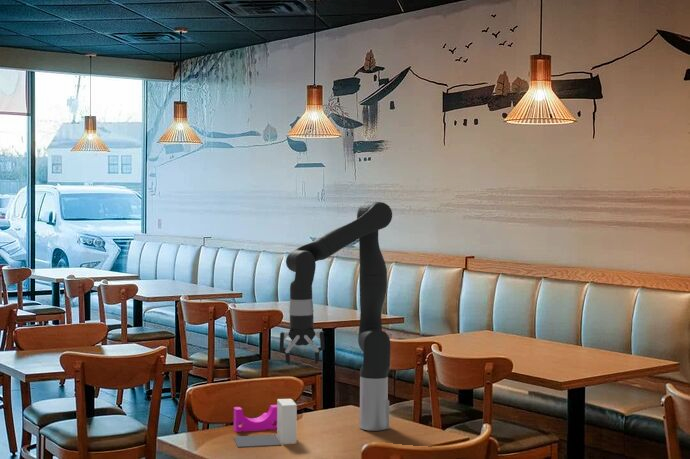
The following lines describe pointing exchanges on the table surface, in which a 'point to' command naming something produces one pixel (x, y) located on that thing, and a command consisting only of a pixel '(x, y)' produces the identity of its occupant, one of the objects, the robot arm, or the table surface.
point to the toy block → (255, 420)
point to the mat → (257, 440)
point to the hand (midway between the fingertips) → (302, 364)
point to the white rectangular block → (286, 421)
